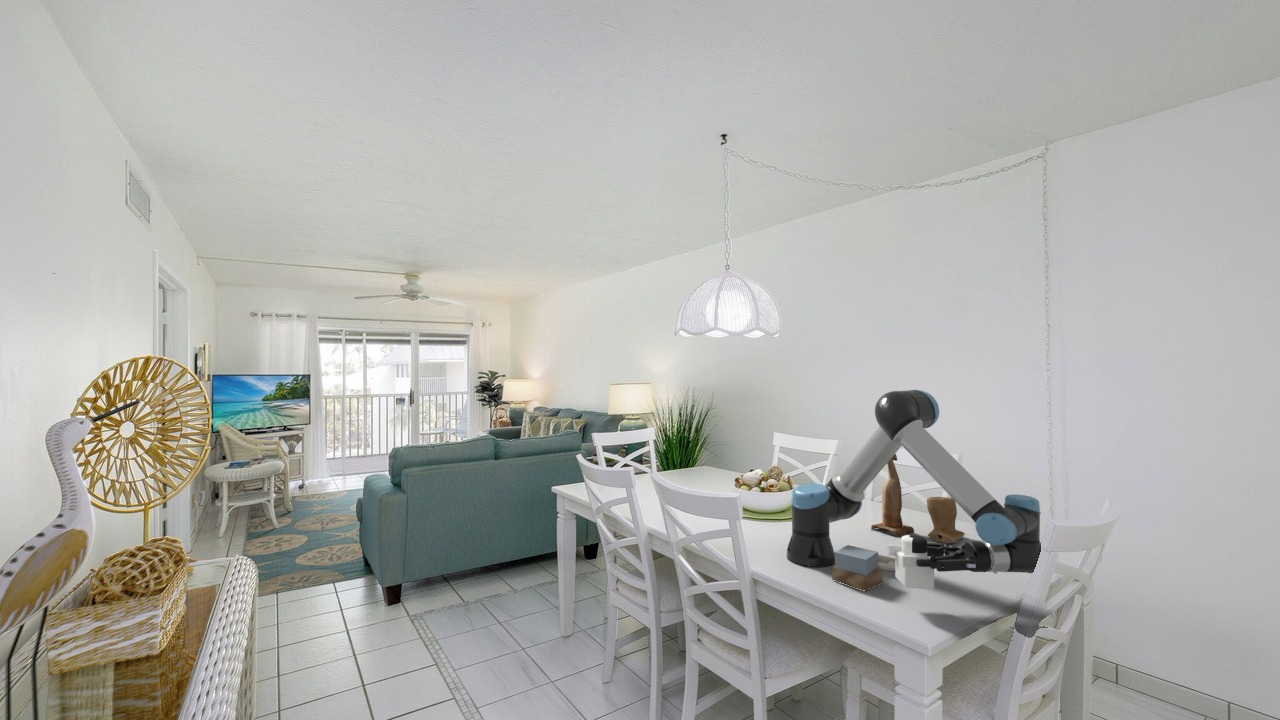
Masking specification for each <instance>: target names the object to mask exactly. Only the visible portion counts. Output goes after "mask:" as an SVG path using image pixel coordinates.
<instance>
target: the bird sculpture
mask: <svg viewBox="0 0 1280 720" xmlns="http://www.w3.org/2000/svg"><path fill="white" fill-rule="evenodd" d="M897 457H898V456H897V453H895V455H894V456H893V457H892V458H891V459H890V460H889V462H888V463H887V464H886V465H887V472H888V478H887V479H886V481H885V482H884V484H883V487H882V491H881V493H882V496H881V498H882V499H881V500H882V501H881V509H882V511H881V512H882V516H881V517H882V522H880V523H876V524H872V525H871V527H870V530H876V529H879V528H882V529H886V530H888V531H890V532H891V534H892V535H893V536H894V537H895V538H896V537H897V538H898V537H902V536H905V535H912V534H914V533H915V529H914V527H912V526H910V525H906V524H903V519H902V509H903V505H902V504H903V499H902V495H903V494H902V486H901V481H900V478H899V474H898V471H897V468H896V466H895V463H894V461H897V462H898V458H897Z"/></svg>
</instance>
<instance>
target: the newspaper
mask: <svg viewBox="0 0 1280 720" xmlns="http://www.w3.org/2000/svg"><path fill="white" fill-rule="evenodd" d="M842 548H843V547H842ZM842 548H840V549H842ZM878 567H879V568H882V569H883V571H889V572H894V573H895V557H894V556H888V555H881V554H878Z"/></svg>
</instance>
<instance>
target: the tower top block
mask: <svg viewBox="0 0 1280 720" xmlns="http://www.w3.org/2000/svg"><path fill="white" fill-rule="evenodd" d="M834 552H835V563H834V566H835V568H838V569H841V570H845V571H849V572H853V573H857V574H861V575H865V576H867V575H868V574H869V573H871V572H872V571H874V570H875V569H877V568H878V555H879V551H876V550H871V549H869V548H868V549H867V548H862V547H859V546H854V545H850V544H847V545H845V546H844V547H842V549H841V548H840V549H838V550H837V551H834Z"/></svg>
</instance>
